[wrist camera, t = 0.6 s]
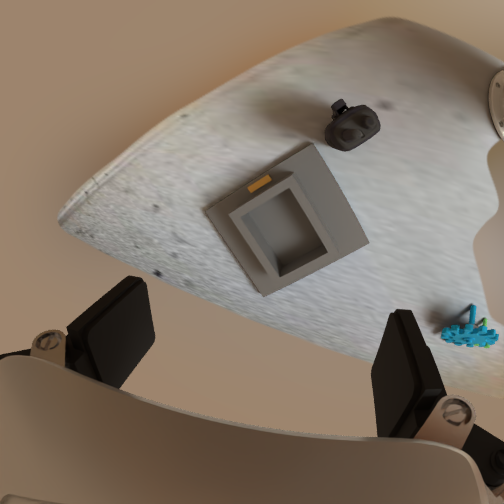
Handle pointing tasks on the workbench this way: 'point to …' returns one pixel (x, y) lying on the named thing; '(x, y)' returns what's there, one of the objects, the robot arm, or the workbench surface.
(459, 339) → the blue branched piece
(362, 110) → the two-way radio
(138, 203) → the workbench surface
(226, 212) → the charging cradle
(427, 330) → the workbench surface
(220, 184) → the workbench surface
